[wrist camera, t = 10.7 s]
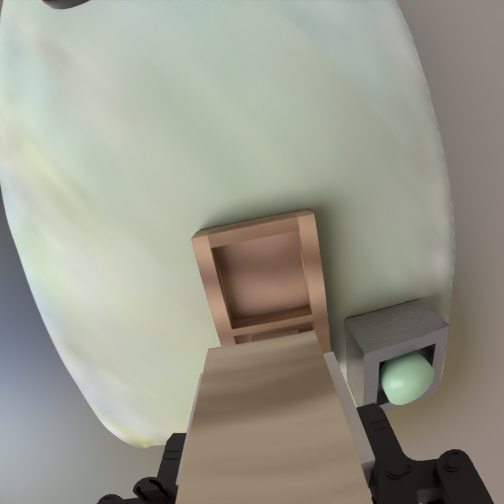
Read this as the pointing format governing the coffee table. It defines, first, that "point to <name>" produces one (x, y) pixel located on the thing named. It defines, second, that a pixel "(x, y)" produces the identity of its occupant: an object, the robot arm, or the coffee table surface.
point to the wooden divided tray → (264, 277)
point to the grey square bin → (392, 347)
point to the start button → (406, 377)
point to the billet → (270, 429)
